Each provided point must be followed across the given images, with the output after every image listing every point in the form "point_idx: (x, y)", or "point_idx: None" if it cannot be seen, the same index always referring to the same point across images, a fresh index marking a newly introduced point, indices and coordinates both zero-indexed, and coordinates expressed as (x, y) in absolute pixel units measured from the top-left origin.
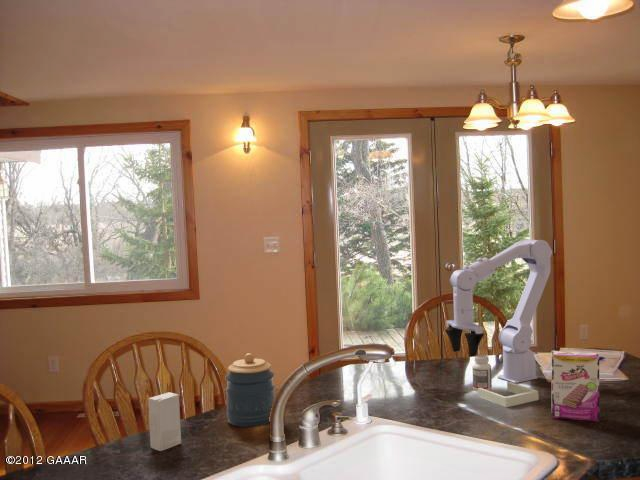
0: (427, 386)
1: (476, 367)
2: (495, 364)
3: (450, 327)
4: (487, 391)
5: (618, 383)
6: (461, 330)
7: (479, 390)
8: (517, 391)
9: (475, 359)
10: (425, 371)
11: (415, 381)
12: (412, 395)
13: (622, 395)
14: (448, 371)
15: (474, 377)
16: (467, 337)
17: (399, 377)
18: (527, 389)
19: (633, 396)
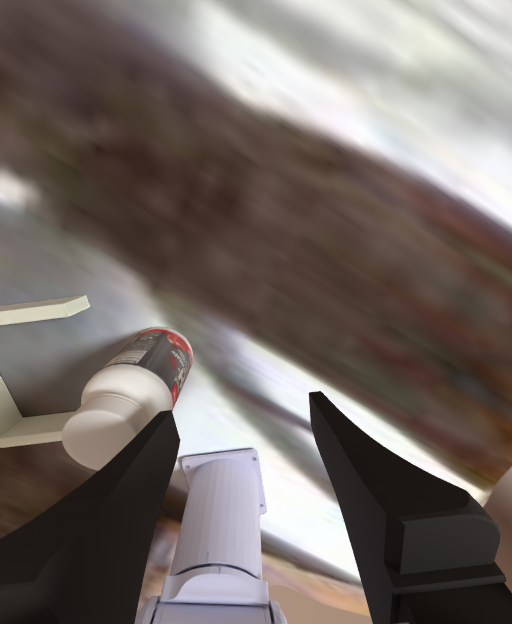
0: (277, 195)
1: (102, 372)
2: None
3: (476, 599)
4: (14, 312)
5: None
6: (372, 612)
7: (58, 302)
8: None
9: (103, 402)
10: (451, 298)
11: (363, 187)
12: (185, 48)
13: None
14: (398, 367)
15: (140, 345)
16: (48, 534)
17: (455, 151)
18: (21, 434)
19: None
